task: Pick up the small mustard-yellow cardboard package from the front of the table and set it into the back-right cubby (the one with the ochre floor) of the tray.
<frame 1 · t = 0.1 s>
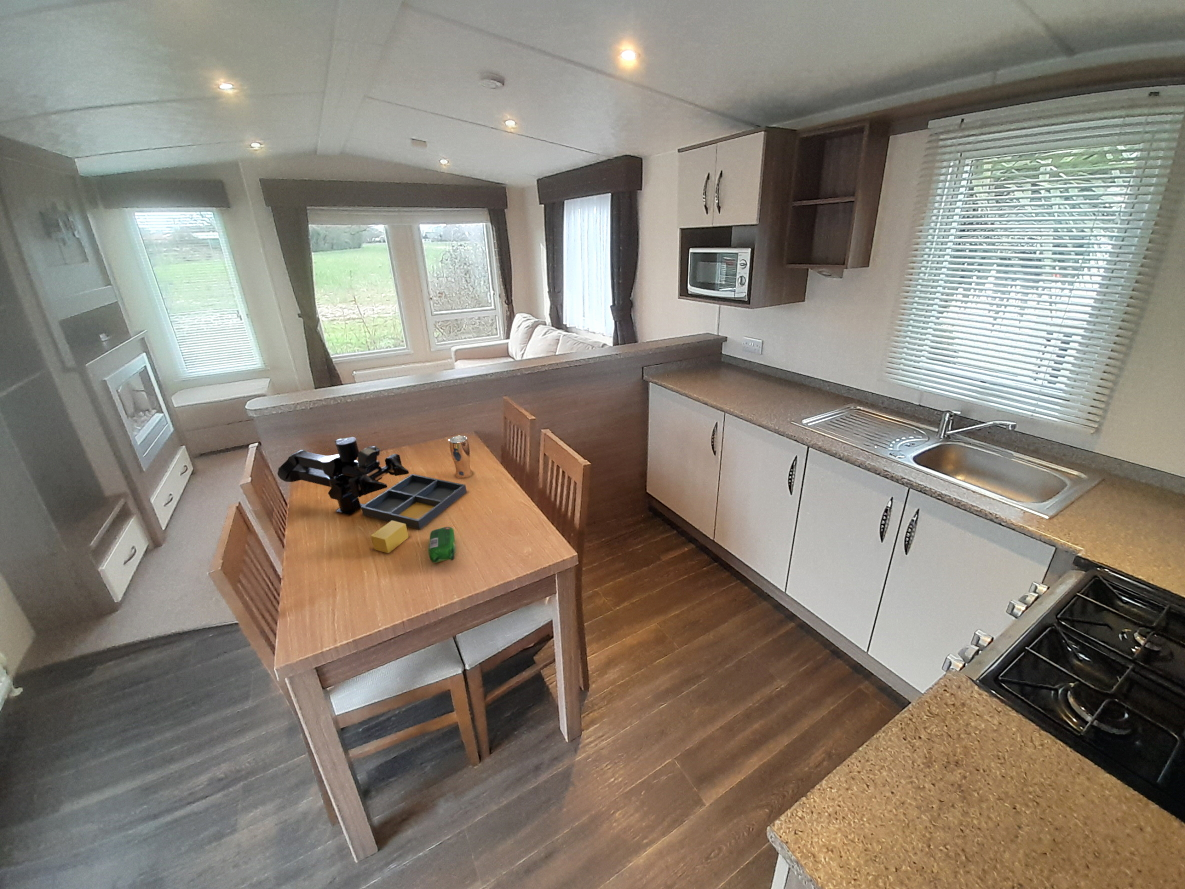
hand: (397, 478, 147), 17 cm above the table, tool horizontal, fingers open, 9 cm apart
package: (391, 543, 144), on the table
snack package: (444, 552, 140), on the table
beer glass: (464, 474, 183), on the table
tray: (416, 503, 165), on the table
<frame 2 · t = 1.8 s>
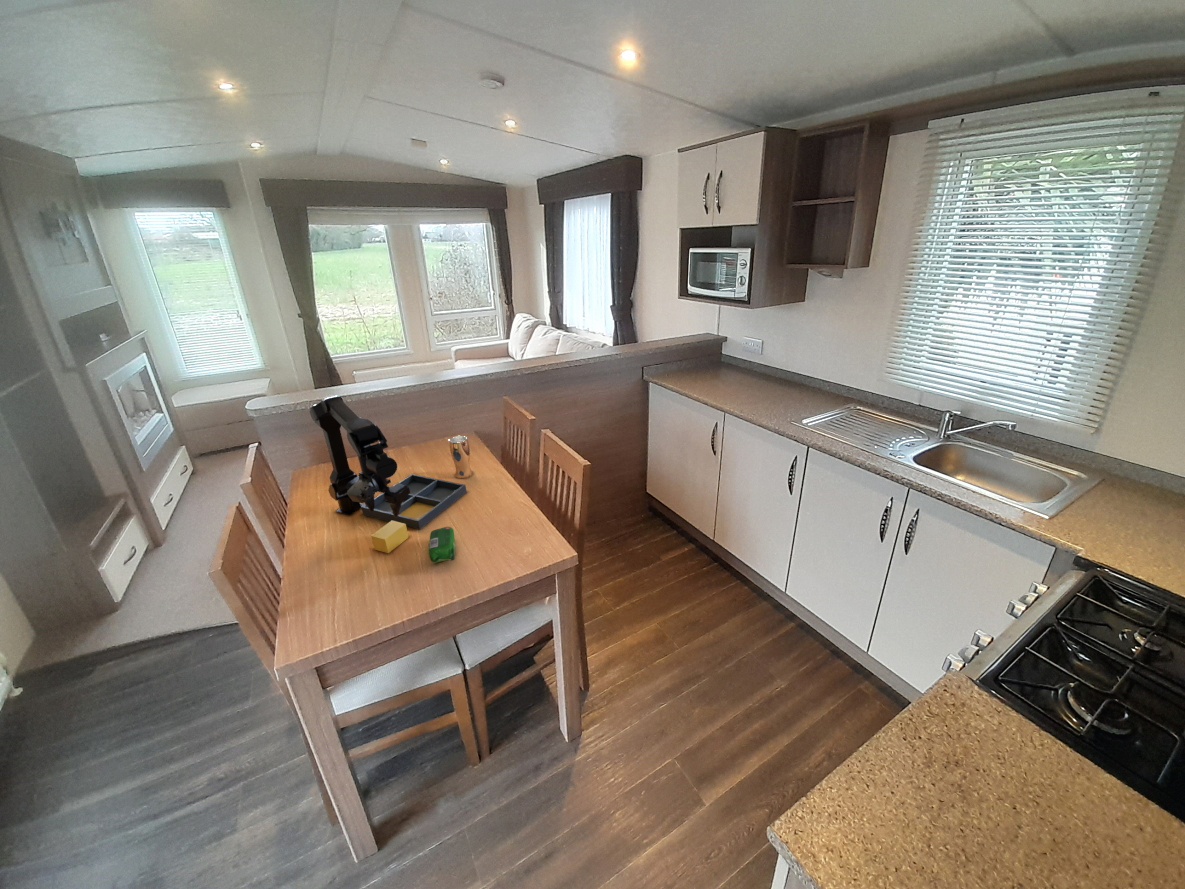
hand: (384, 513, 140), 11 cm above the table, tool pointing down, fingers open, 9 cm apart
nothing on the table moved.
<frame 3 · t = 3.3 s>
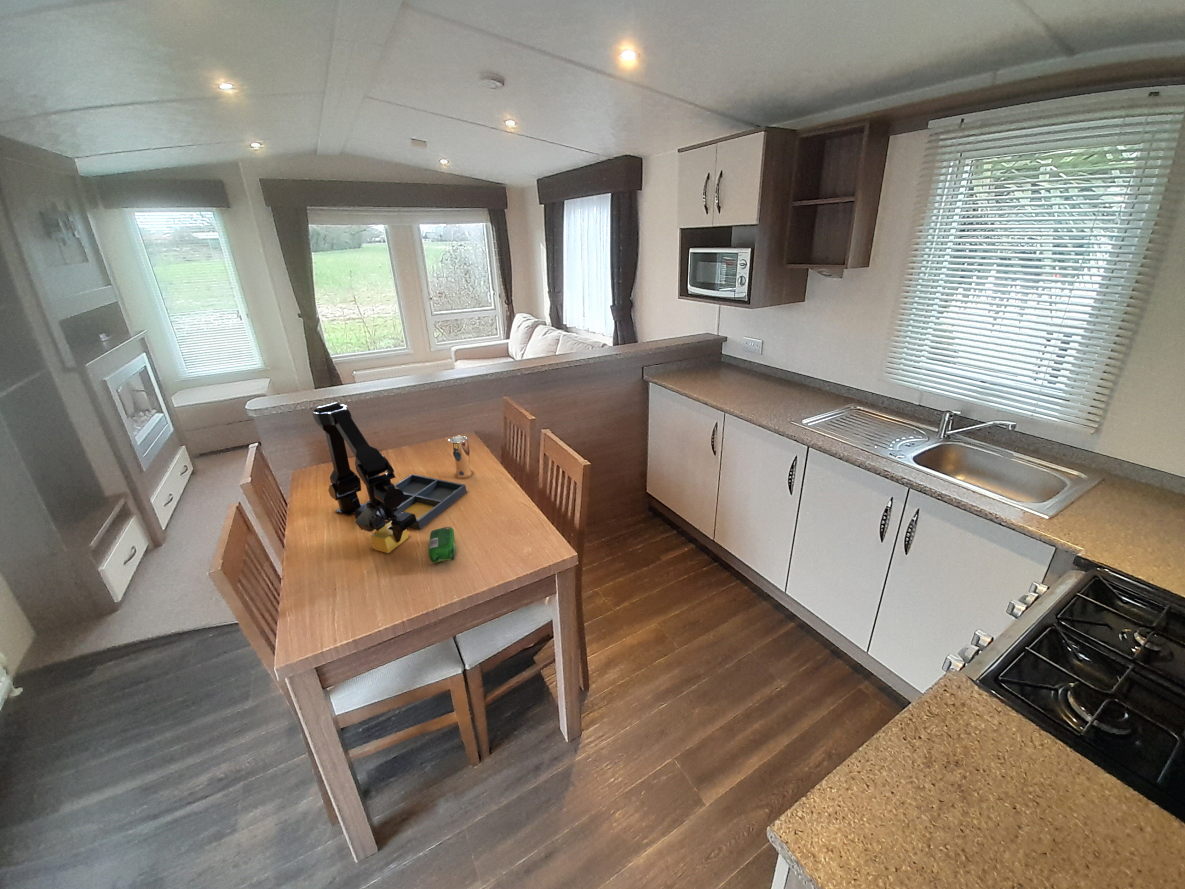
hand: (391, 539, 144), 1 cm above the table, tool pointing down, fingers closed on package, 5 cm apart
package: (391, 543, 144), on the table, touching gripper
everything else where it was.
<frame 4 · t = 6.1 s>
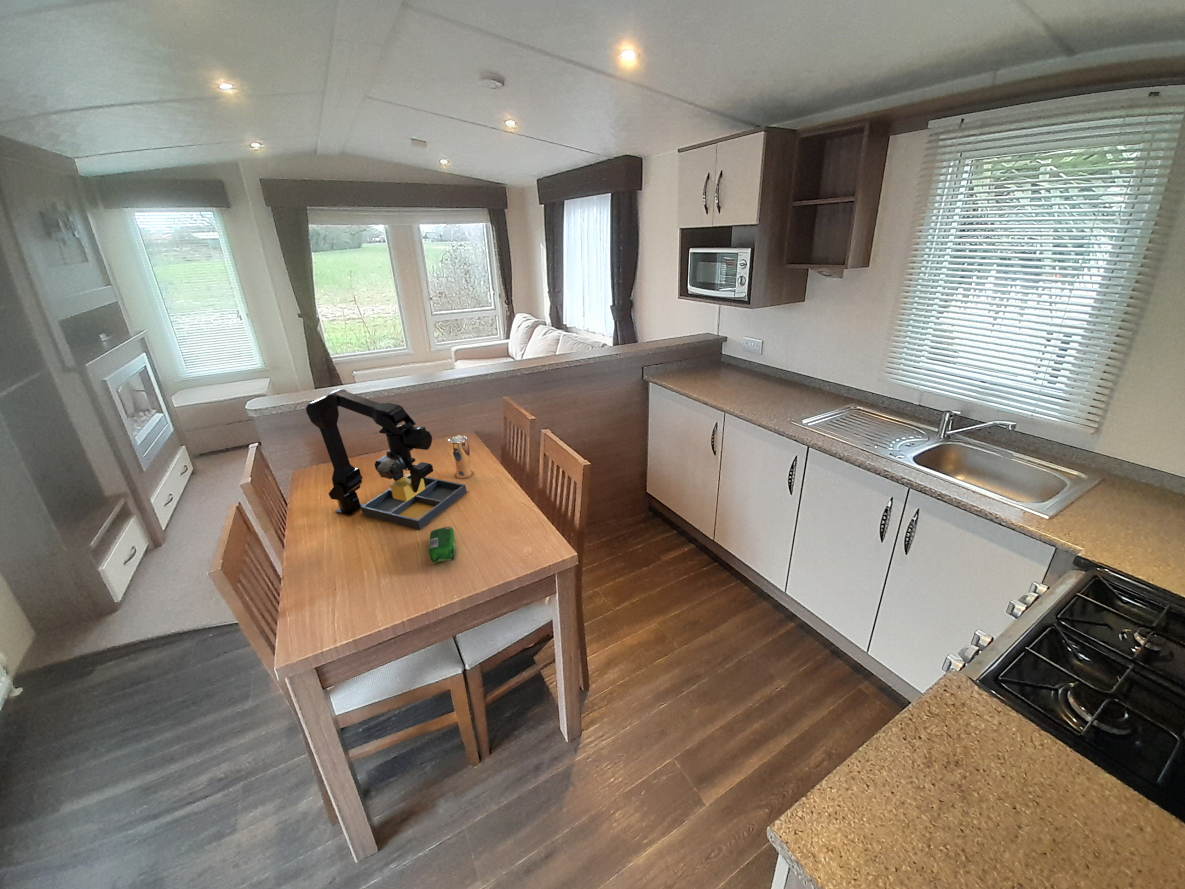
hand: (408, 490, 152), 11 cm above the table, tool pointing down, fingers closed on package, 5 cm apart
package: (409, 493, 152), point 9 cm above the table, touching gripper
everything else where it was.
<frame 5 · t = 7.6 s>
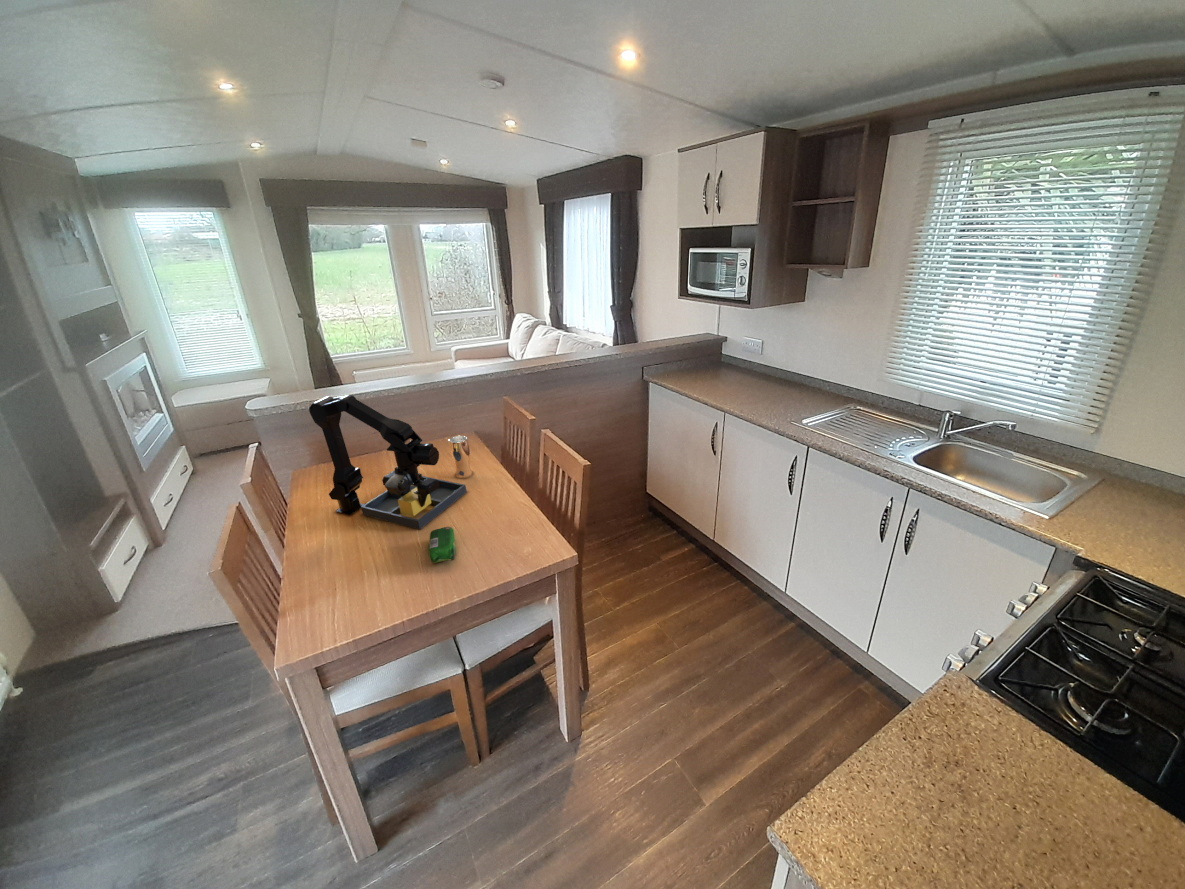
hand: (415, 504, 156), 4 cm above the table, tool pointing down, fingers closed on package, 5 cm apart
package: (416, 507, 157), point 3 cm above the table, touching gripper
everything else where it was.
when the fingers open (2 cm above the table, at t = 8.7 s): package stays where it is, resting on tray.
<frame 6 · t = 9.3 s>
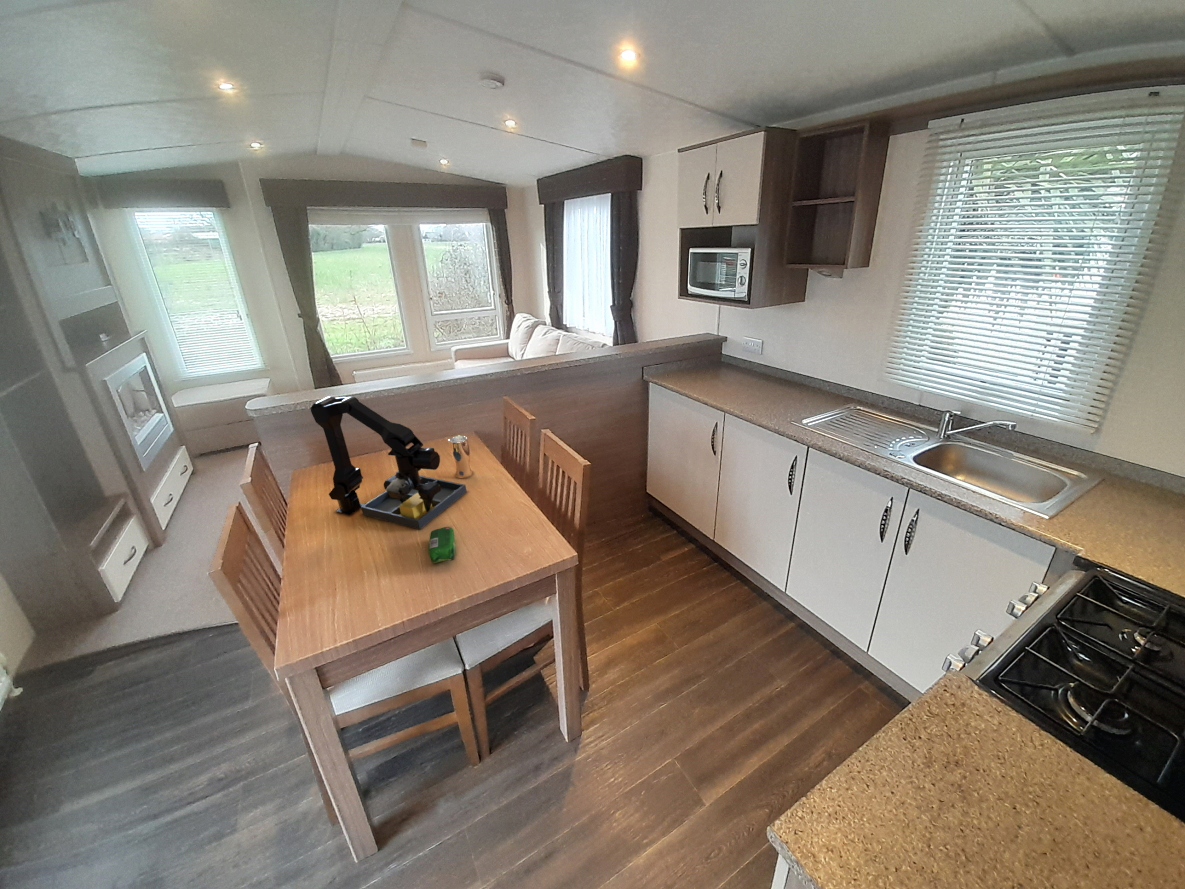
hand: (416, 508, 157), 3 cm above the table, tool pointing down, fingers open, 9 cm apart
package: (417, 513, 158), point 1 cm above the table, touching tray
everything else where it was.
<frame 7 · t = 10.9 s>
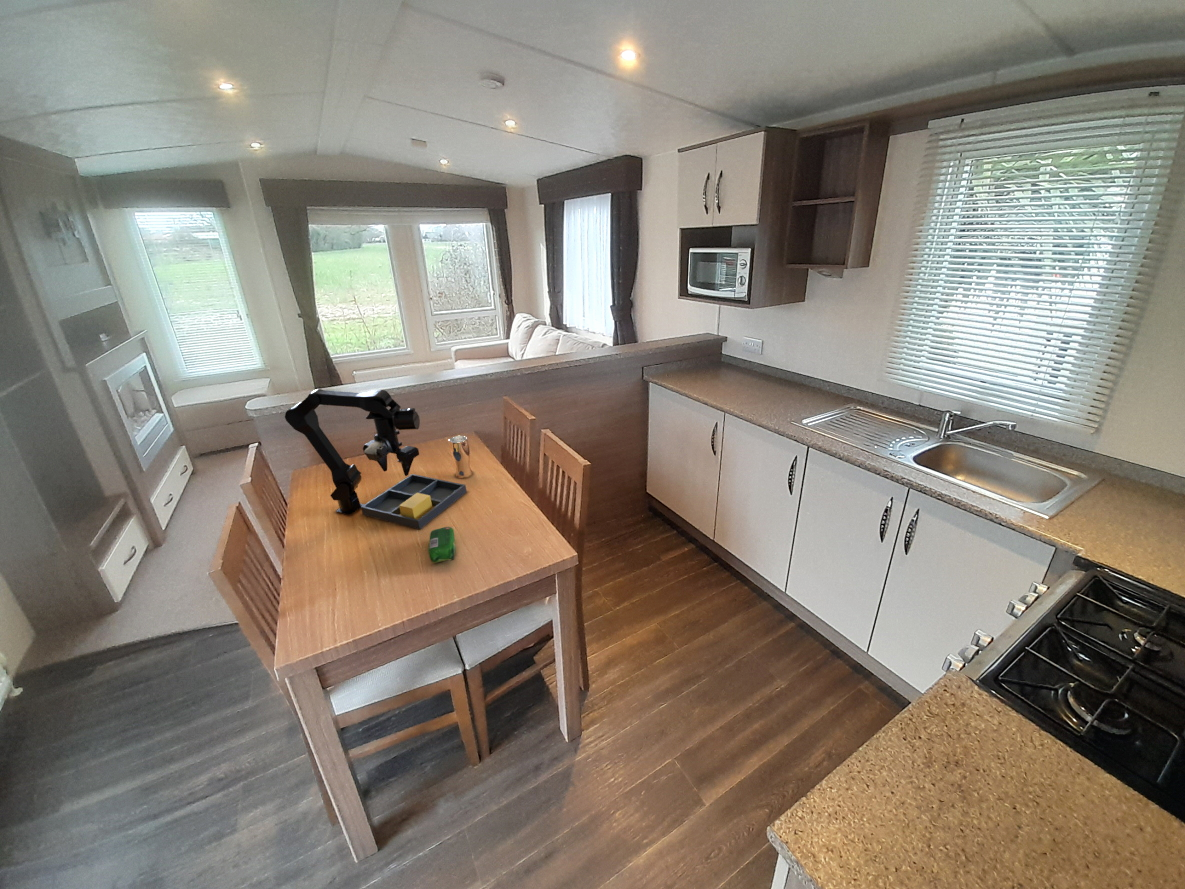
hand: (396, 473, 158), 13 cm above the table, tool pointing down, fingers open, 9 cm apart
nothing on the table moved.
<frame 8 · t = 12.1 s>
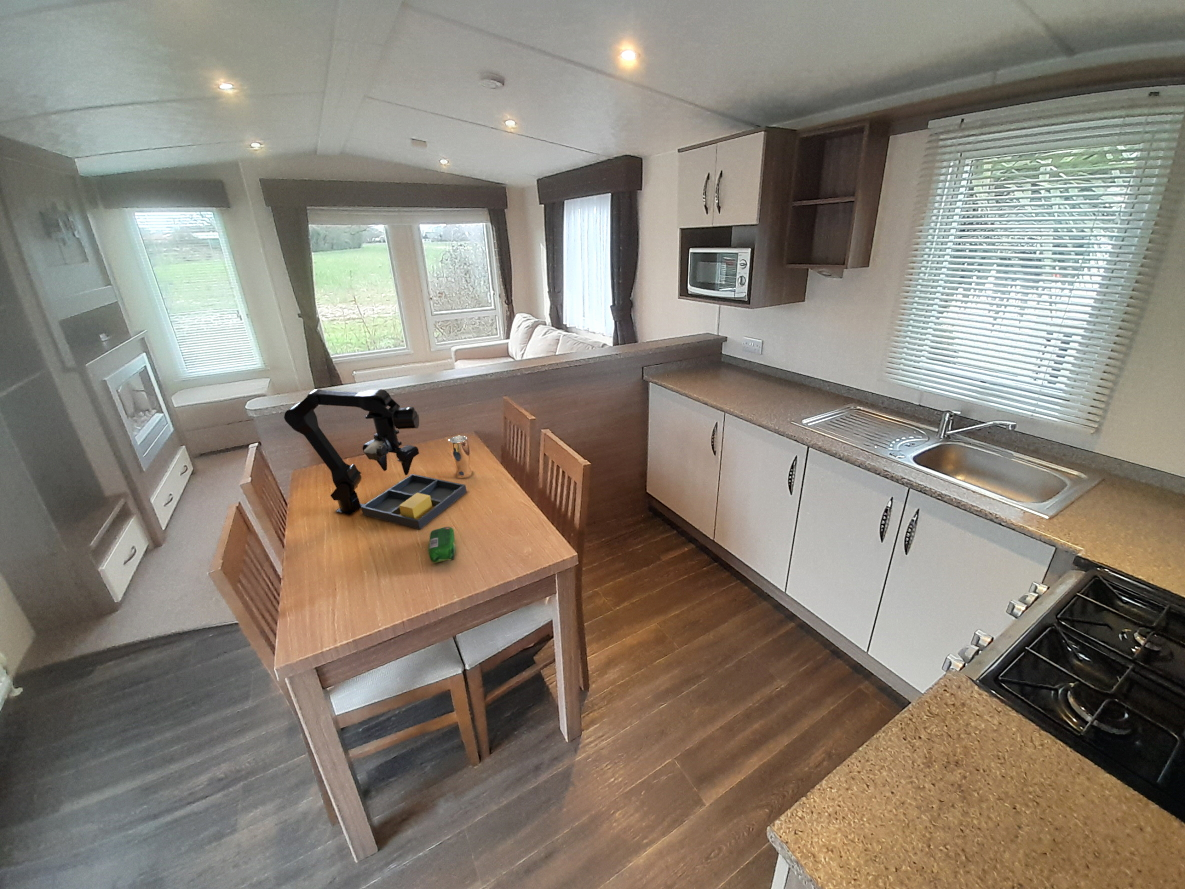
hand: (395, 472, 158), 13 cm above the table, tool pointing down, fingers open, 9 cm apart
nothing on the table moved.
at the end: package inside the target area in the tray (0.0 cm from its centre), point 0.8 cm above the tray's base; package tilted 0°; the gripper is holding nothing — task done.
